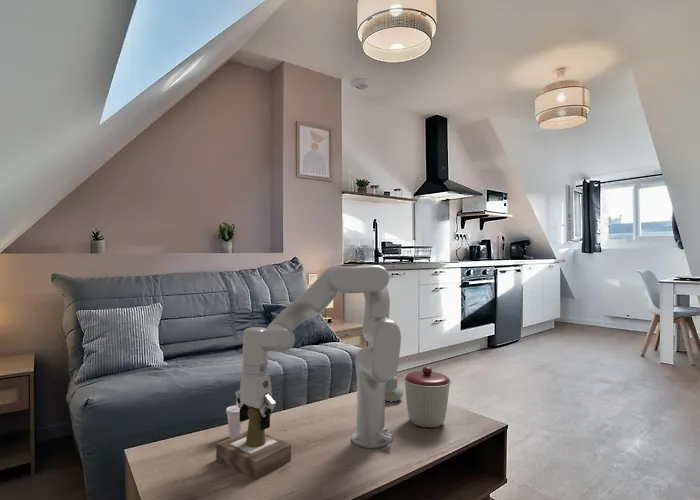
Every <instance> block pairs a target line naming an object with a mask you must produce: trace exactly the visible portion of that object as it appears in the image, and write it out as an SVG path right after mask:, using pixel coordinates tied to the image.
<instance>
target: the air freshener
mask: <svg viewBox="0 0 700 500" xmlns="http://www.w3.org/2000/svg"><path fill="white" fill-rule="evenodd" d="M403 396H404V391H403V389H402V388H401V387H400V386H398V377H397V376H396V375H395V377H394V378H393V379H392V380H391V381H389V382H387V383H385V400H386V401H385V402H387V401H395V402H398V401H399V400H401V399H402V398H403ZM397 400H398V401H397Z"/></svg>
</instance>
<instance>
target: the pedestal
mask: <svg viewBox="0 0 700 500" xmlns="http://www.w3.org/2000/svg"><path fill="white" fill-rule="evenodd" d="M247 431H248V430H245V431H244V432H241V434H239V435H236V436H234V437H231V438H230V437H229V438H227V439H224V440H221V441H219V442H216V445H215V446H216V448H215V450H216V451H215V461H216V462H219V463H221V464H223V465H225V466H226V467H229V468H231V469H233V470H234V471H237V472H239V473H241V474H243V475H244V476H247V477H249V478H251V479H252V480H255V481H256V480H258V479H259V478H261V477H263V476H266V475H267V474H268V473H271V472H272V471H275V470H276V469H279V468H280V467H283V466H285V465H286V464H287V463H290V462H291V461H292V443H289V442H287V441H284V440H282V439H279V438H278V437H274V436H271V435H269V434H266V433H265V440H266V443H265V444H264V445H263V446H260V447H248V446H246V438H247Z"/></svg>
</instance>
